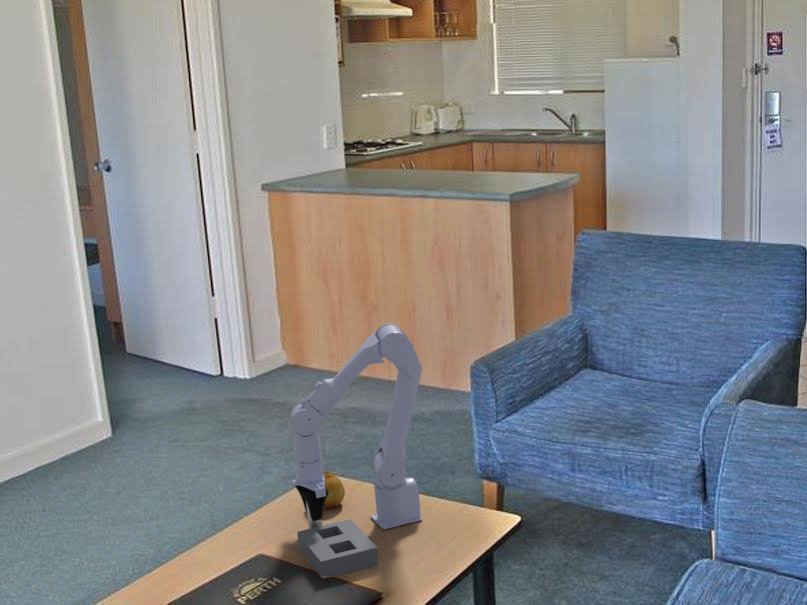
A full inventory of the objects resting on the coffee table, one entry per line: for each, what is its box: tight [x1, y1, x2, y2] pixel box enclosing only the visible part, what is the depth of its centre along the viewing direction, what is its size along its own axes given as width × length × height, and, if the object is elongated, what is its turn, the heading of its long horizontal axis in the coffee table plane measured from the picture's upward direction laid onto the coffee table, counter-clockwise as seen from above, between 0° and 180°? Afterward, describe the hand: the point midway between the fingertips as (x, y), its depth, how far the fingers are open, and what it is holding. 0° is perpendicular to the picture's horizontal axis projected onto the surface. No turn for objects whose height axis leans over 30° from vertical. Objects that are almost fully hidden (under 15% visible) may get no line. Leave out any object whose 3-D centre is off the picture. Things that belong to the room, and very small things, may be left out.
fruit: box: [323, 471, 346, 509], centre depth 244 cm, size 8×8×8 cm
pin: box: [306, 502, 323, 529], centre depth 231 cm, size 3×3×7 cm
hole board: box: [296, 518, 379, 578], centre depth 218 cm, size 12×16×4 cm
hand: (314, 516), depth 231 cm, fingers closed on pin, 3 cm apart
